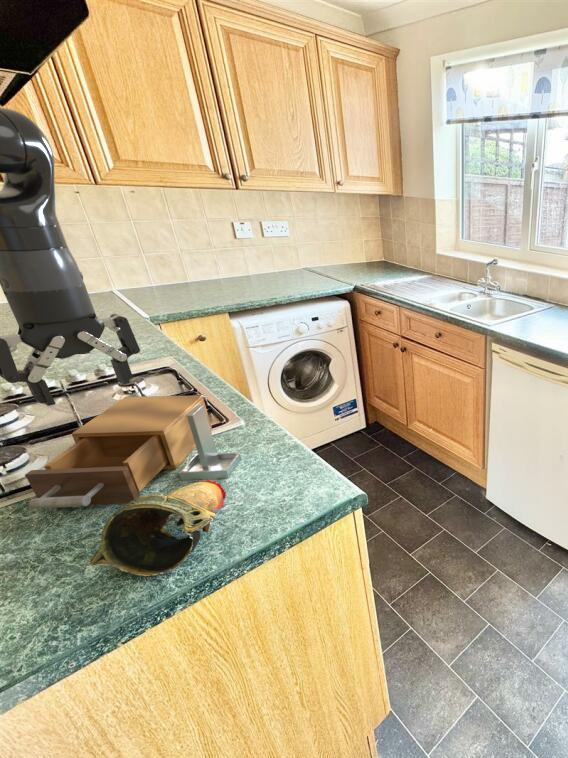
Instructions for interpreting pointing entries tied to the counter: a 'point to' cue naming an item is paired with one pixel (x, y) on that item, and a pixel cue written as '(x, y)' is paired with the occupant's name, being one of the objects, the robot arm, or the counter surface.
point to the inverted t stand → (207, 451)
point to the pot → (158, 529)
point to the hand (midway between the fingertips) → (88, 392)
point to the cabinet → (149, 423)
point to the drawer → (98, 472)
